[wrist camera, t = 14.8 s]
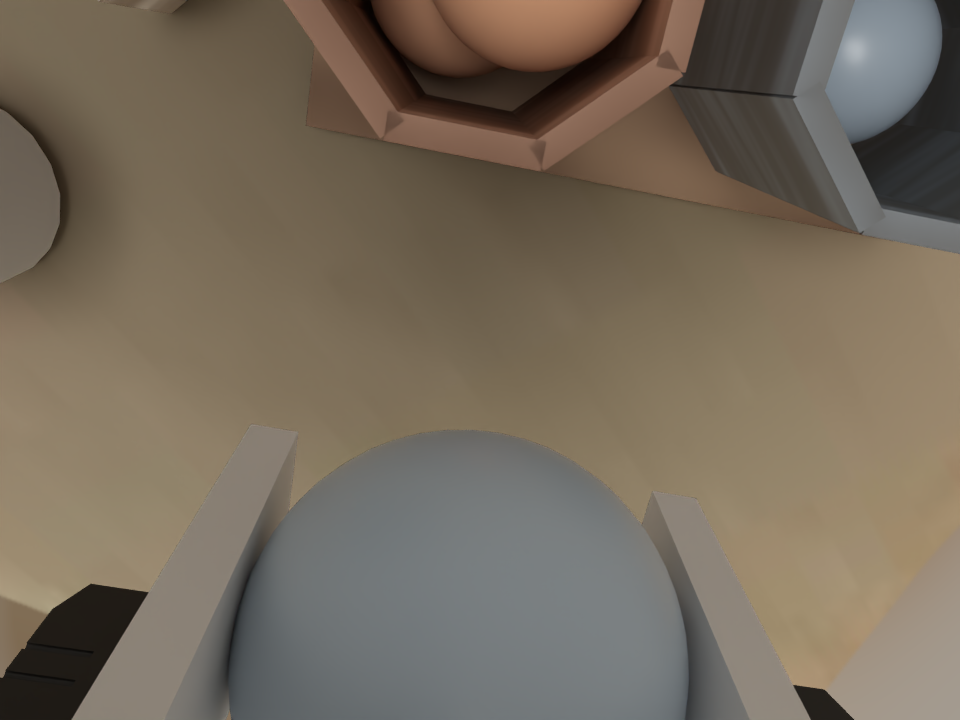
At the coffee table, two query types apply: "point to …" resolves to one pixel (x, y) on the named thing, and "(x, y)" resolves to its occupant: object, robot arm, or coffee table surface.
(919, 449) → the coffee table surface
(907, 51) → the slate ball
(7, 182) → the can
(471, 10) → the terracotta ball
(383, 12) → the terracotta ball
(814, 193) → the twin cylinders
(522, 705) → the slate ball
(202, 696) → the robot arm
